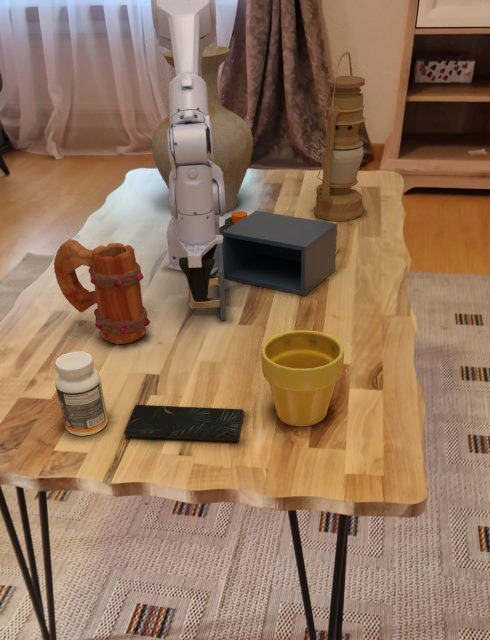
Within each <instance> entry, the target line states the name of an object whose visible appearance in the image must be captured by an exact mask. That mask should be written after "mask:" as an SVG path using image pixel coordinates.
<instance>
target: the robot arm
mask: <svg viewBox="0 0 490 640" xmlns="http://www.w3.org/2000/svg"><path fill="white" fill-rule="evenodd" d="M150 6H151V7H150V9H151V18H152V24H153V28H154V31H155V36H156V37H155V38H156V40H158V45H159V46H160V47H162V48H164V49H167V50H170V51H171V53H172V55H173V59H174V66H175V68H174V72H175V76H174V77H173V78H172V79H171V80H170V82H169V84H168V89H167V90H168V105H169V107H168V109H169V110H168V111H169V115H170V131H169V129H168V131H167V141H168V153H169V160H170V164H171V168H172V170H171V172H170V175H169V189H168V196H169V207H170V208H169V209H170V214H171V215H170V216H171V218H170V220H169V221H168V225H167V228H166V239H167V240H166V241H167V249H168V259H169V261H168V262H169V264H168V265H167V269H169V270H173V271H174V270H175V271H177V272H178V271H179V272H183V274H184V276H185V278H186V281H187V280H188V283H189V286H190V290H191V293H192V296H193V299H194V301H207V298H209V297H208V296H209V289H210V288H209V287H210V286H209V278H210V276H213V275H214V274H215V273H218V246H217V244H221V243H223V235H217V234H220V230H219V228H220V217H223V216H224V215H225V214H226V210H225V190H224V181H223V172H222V171H221V168H220V167H218V166H217V165H216V164H214V163H213V160H214V152H213V134H212V127H211V123H210V117H209V114H208V97H207V85H206V83H205V81H204V80H203V79H202V73H201V60H202V56H203V52H204V48H205V47H207V46H211V45H212V44H214V43H215V37H216V36H217V28H216V27H217V26H216V25H217V8H216V6H217V5H216V0H150ZM209 152H210V154H211V159H212V161H210V160H209V159H208V158H207V154H208V153H209ZM212 178H214V179H212ZM217 183H218V185H217ZM188 283H187V284H188Z"/></svg>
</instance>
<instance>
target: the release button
mask: <svg viewBox="0 0 490 640" xmlns="http://www.w3.org/2000/svg"><path fill="white" fill-rule="evenodd" d="M247 216H248V212H246V211H244V210H238V211H237V210H236V211H233V212H232V213H231V217H232V223H234V224H235V223H237V222H238V221H240V220H242V219H243V218H245V217H247Z"/></svg>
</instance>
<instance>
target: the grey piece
mask: <svg viewBox="0 0 490 640" xmlns="http://www.w3.org/2000/svg"><path fill="white" fill-rule="evenodd" d="M217 235H222V234H217ZM217 246H218V271H217V273H218V274H217V275H211V276H210V278H209V287H210V286H218V290H219V291H218V292H219V297H207V301H194V299H193V296H192V293H191V290H190V286H189V283H188V280H187V279H186V282H187V293H188V303H189V308H190V309H194V310H195V309H212V308H220V321H226V320H227V314H226V313H227V312H226V291H225V290H226V289H225V279H224V269H223V250H222V243H221V244H217Z"/></svg>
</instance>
